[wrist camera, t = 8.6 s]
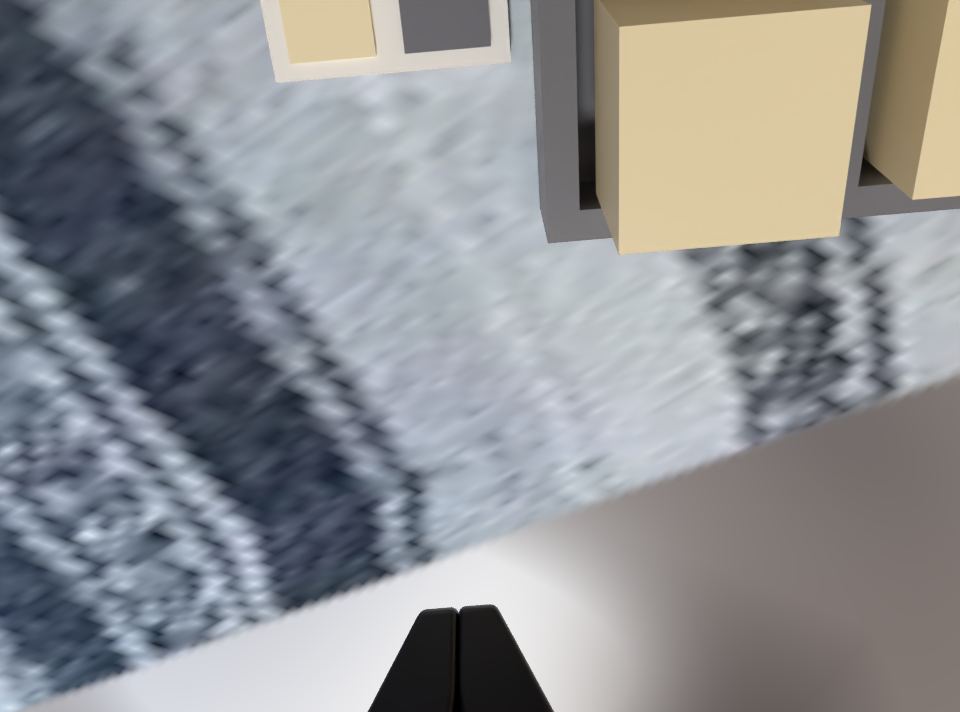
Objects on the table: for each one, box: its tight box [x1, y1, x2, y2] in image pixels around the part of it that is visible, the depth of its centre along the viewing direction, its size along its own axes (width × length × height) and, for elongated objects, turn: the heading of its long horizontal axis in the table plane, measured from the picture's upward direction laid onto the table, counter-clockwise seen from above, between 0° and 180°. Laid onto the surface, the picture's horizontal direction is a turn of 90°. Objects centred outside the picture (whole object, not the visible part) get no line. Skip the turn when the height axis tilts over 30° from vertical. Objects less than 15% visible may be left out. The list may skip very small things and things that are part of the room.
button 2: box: [594, 0, 871, 255], centre depth 17 cm, size 4×4×3 cm
